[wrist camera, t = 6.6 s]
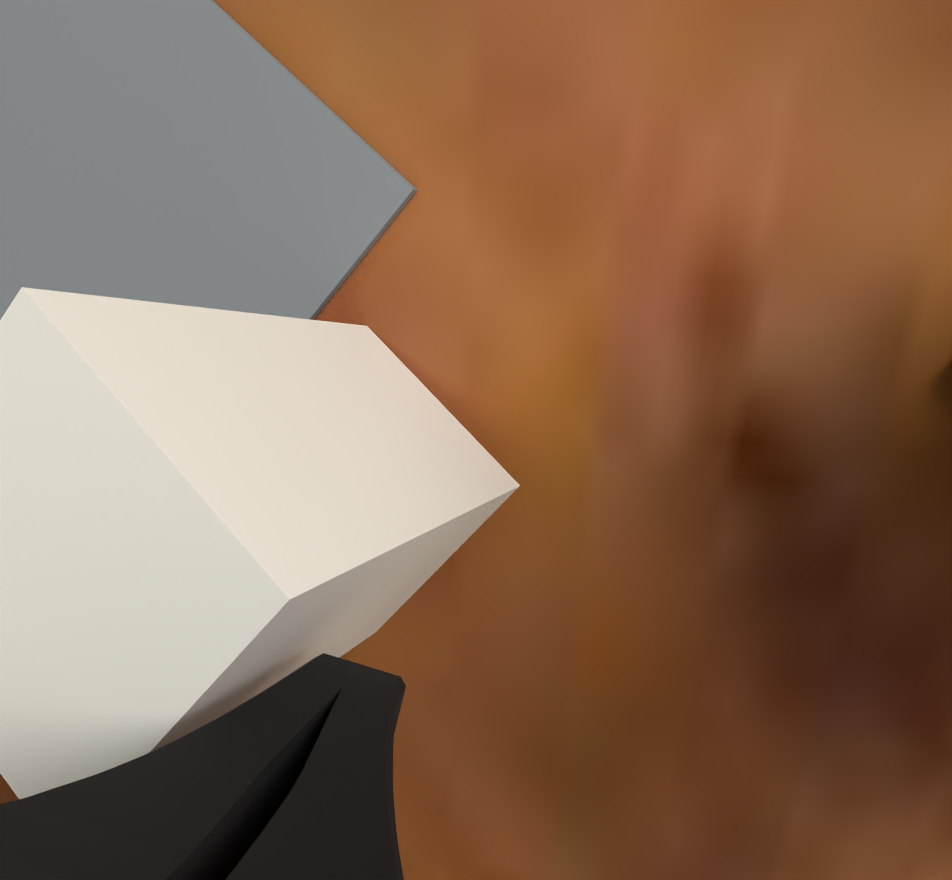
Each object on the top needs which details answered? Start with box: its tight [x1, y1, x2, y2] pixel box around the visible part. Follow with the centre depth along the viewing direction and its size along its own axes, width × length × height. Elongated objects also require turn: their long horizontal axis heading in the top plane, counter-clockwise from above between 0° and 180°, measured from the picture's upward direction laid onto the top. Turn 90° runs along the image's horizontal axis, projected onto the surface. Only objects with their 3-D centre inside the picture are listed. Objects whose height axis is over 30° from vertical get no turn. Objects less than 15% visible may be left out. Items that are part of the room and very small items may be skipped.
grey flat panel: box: [0, 0, 418, 320], centre depth 18 cm, size 13×11×1 cm
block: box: [0, 287, 520, 799], centre depth 14 cm, size 5×5×9 cm
